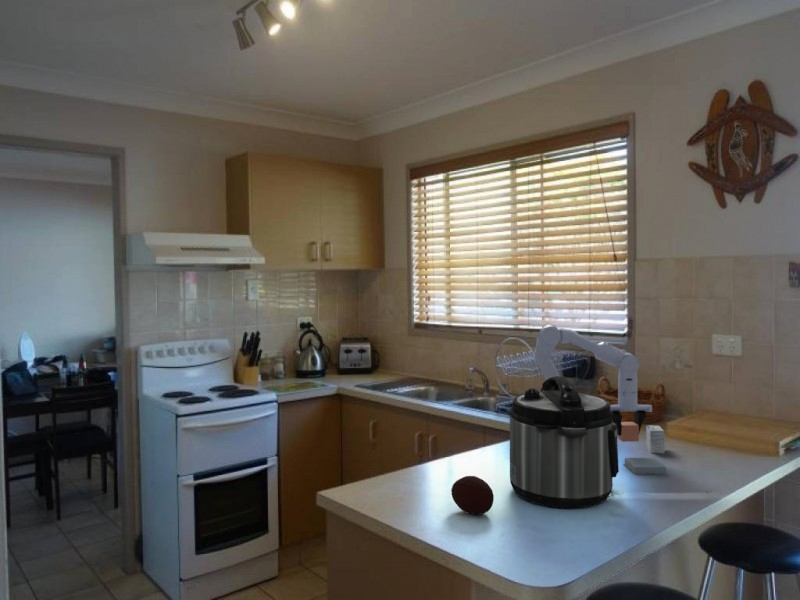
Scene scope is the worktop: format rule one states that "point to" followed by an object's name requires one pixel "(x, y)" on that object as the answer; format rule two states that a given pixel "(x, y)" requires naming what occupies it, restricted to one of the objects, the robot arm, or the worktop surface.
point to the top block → (645, 466)
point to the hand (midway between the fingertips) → (627, 434)
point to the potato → (472, 495)
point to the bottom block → (643, 474)
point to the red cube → (629, 432)
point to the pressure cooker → (562, 446)
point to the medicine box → (655, 439)
